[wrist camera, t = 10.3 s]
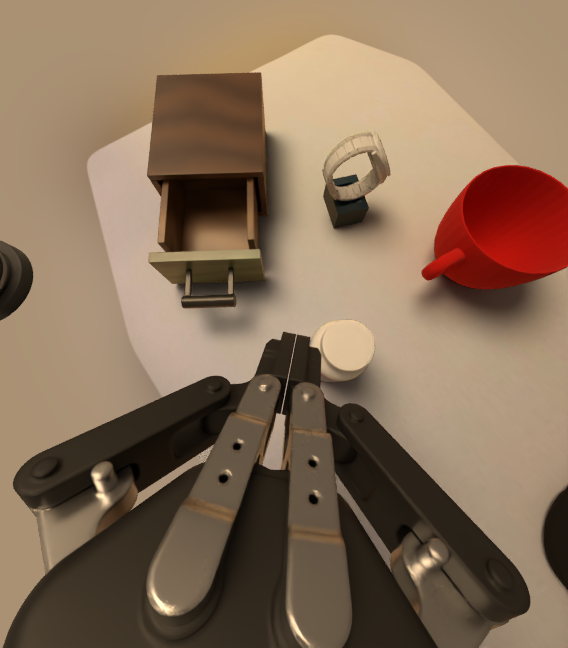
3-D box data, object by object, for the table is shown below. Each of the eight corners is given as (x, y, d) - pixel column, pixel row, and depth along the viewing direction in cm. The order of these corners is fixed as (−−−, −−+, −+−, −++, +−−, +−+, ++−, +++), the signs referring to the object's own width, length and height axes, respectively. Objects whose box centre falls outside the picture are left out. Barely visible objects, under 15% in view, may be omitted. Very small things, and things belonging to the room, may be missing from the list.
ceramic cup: (372, 256, 37) (405, 210, 27) (468, 206, 39) (530, 146, 29) (427, 335, 34) (484, 316, 24) (526, 278, 36) (616, 238, 26)
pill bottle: (298, 375, 33) (306, 370, 22) (309, 330, 34) (321, 303, 23) (345, 387, 33) (377, 388, 22) (354, 341, 34) (388, 320, 23)
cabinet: (267, 215, 38) (263, 171, 30) (175, 218, 38) (146, 175, 30) (265, 131, 42) (261, 72, 34) (180, 133, 42) (156, 75, 34)
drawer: (265, 314, 34) (261, 298, 28) (169, 317, 34) (144, 302, 28) (262, 189, 38) (258, 151, 32) (178, 191, 38) (158, 154, 32)
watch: (374, 219, 38) (410, 153, 27) (322, 230, 38) (337, 169, 27) (362, 187, 39) (392, 113, 29) (311, 198, 39) (322, 127, 28)
